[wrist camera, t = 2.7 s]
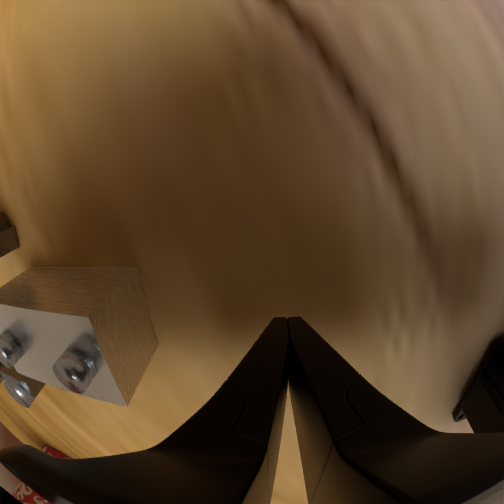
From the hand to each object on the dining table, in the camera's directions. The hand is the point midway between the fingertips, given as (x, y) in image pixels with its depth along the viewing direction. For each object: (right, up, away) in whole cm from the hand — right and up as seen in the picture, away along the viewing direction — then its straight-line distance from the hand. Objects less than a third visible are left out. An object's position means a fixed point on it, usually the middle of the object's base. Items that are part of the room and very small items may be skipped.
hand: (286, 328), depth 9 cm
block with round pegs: (-8, 0, +2) cm, 8 cm away
